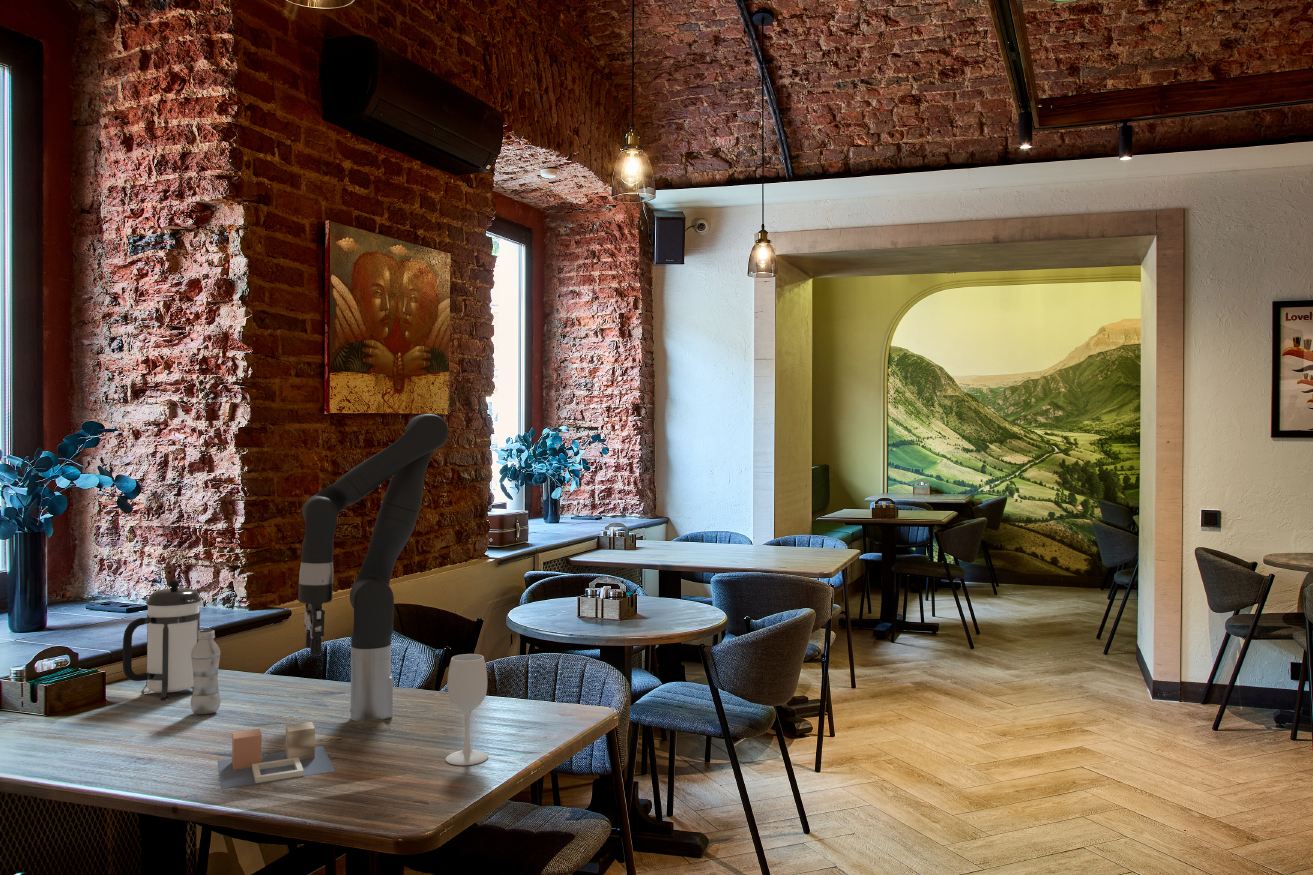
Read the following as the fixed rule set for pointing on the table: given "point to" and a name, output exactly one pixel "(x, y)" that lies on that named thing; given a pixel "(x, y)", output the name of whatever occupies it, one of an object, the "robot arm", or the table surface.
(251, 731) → the terracotta block
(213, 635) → the plastic bottle
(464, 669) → the wineglass
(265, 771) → the grey board
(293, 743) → the birch block
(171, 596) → the coffee press
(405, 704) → the table surface
